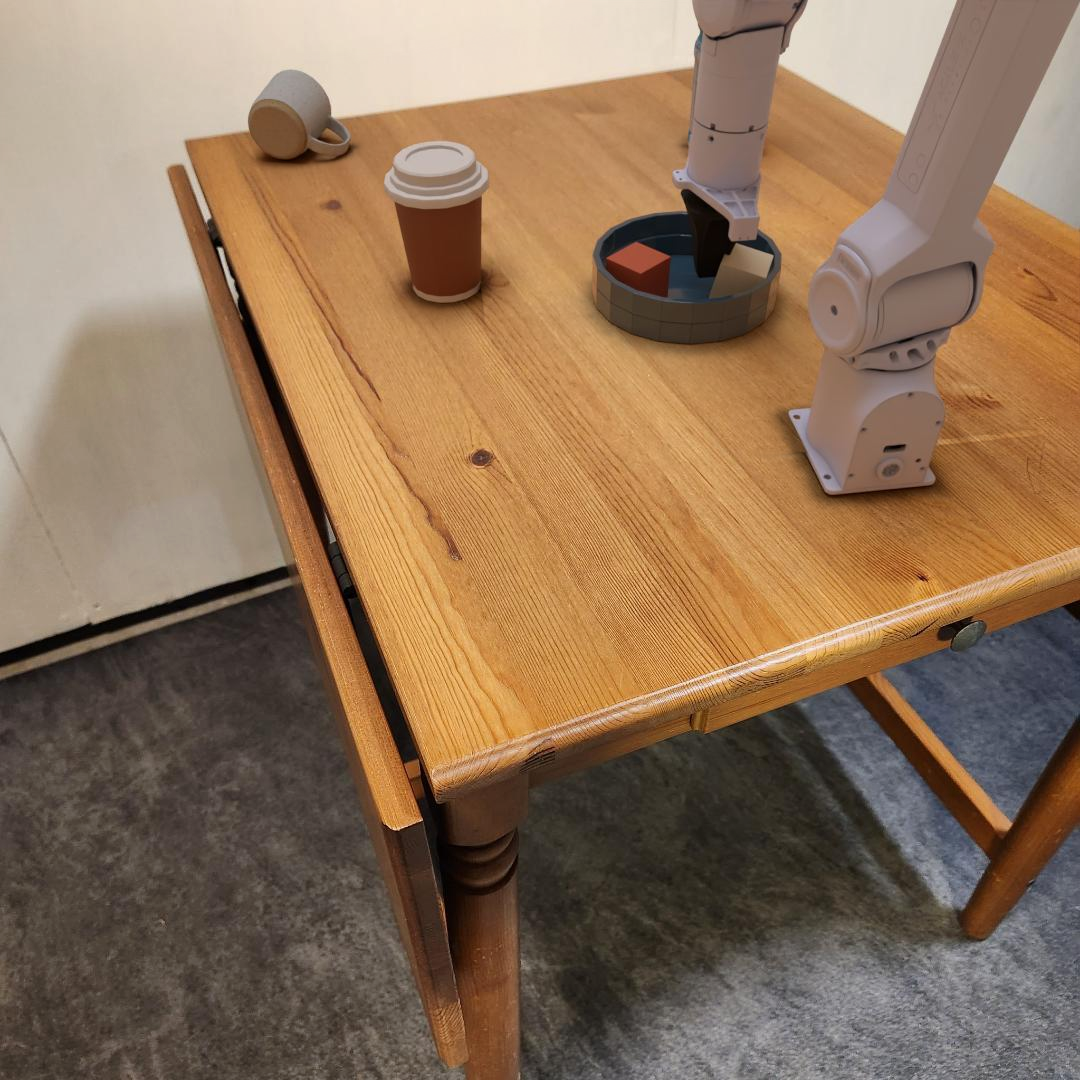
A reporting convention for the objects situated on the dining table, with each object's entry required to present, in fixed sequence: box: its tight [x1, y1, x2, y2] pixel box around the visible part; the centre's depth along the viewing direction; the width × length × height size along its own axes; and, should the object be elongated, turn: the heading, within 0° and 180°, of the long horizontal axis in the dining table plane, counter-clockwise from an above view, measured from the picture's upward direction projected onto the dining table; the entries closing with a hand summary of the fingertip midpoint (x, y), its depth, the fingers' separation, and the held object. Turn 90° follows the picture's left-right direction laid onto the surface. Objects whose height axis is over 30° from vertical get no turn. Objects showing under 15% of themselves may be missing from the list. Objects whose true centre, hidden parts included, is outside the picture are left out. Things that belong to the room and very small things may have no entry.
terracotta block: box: [606, 242, 671, 298], centre depth 83 cm, size 4×4×4 cm
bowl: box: [591, 210, 783, 345], centre depth 84 cm, size 16×16×4 cm
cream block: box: [708, 243, 774, 299], centre depth 82 cm, size 4×4×4 cm
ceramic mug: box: [247, 69, 352, 160], centre depth 108 cm, size 11×8×8 cm
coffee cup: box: [383, 140, 490, 304], centre depth 84 cm, size 9×9×12 cm
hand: (708, 274), depth 82 cm, fingers closed, pressing on cream block
